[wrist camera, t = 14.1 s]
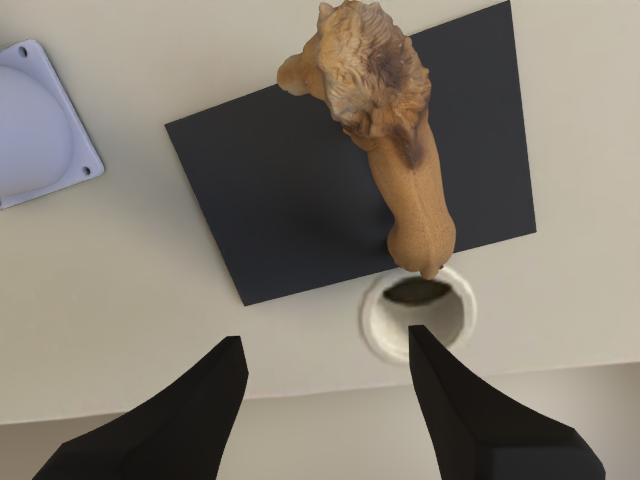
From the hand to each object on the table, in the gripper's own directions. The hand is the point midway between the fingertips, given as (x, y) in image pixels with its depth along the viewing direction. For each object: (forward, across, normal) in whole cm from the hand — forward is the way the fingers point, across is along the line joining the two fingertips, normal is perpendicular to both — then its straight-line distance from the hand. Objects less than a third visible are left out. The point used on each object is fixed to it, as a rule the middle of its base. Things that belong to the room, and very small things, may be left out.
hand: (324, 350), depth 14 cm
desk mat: (+9, -2, -6) cm, 11 cm away
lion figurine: (+9, -4, -6) cm, 12 cm away
